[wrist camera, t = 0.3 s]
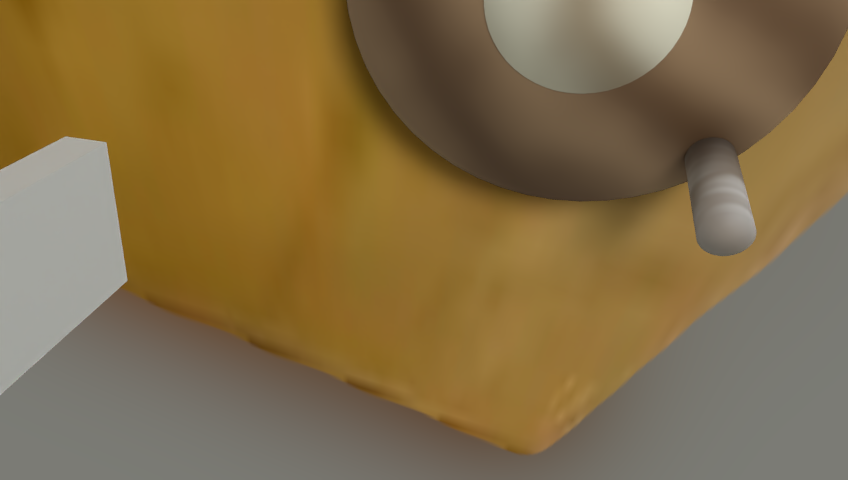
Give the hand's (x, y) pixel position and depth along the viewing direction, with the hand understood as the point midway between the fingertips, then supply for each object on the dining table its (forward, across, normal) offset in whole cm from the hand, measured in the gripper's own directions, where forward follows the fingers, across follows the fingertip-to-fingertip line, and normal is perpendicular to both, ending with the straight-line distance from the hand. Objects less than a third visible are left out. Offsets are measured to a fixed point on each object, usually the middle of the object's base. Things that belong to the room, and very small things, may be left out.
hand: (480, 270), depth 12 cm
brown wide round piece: (+25, +2, +1) cm, 26 cm away
